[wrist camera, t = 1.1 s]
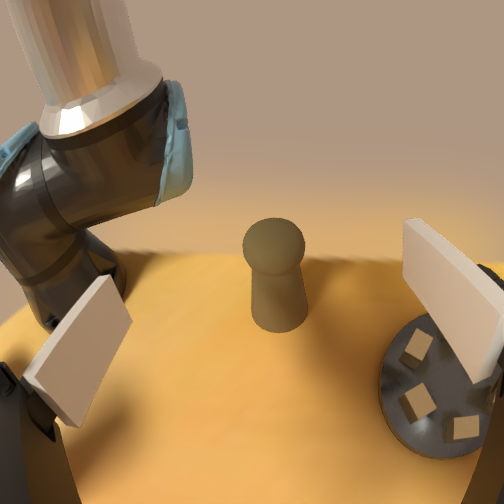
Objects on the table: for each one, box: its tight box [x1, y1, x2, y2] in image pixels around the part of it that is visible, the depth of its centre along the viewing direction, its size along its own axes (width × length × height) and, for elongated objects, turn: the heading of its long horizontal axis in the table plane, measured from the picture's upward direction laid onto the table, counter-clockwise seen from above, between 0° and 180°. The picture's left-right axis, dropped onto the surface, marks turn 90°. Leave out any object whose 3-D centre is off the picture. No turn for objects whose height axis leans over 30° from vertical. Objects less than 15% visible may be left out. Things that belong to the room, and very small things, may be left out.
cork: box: [243, 218, 308, 333], centre depth 27 cm, size 6×6×11 cm
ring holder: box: [378, 313, 502, 459], centre depth 21 cm, size 16×16×3 cm
